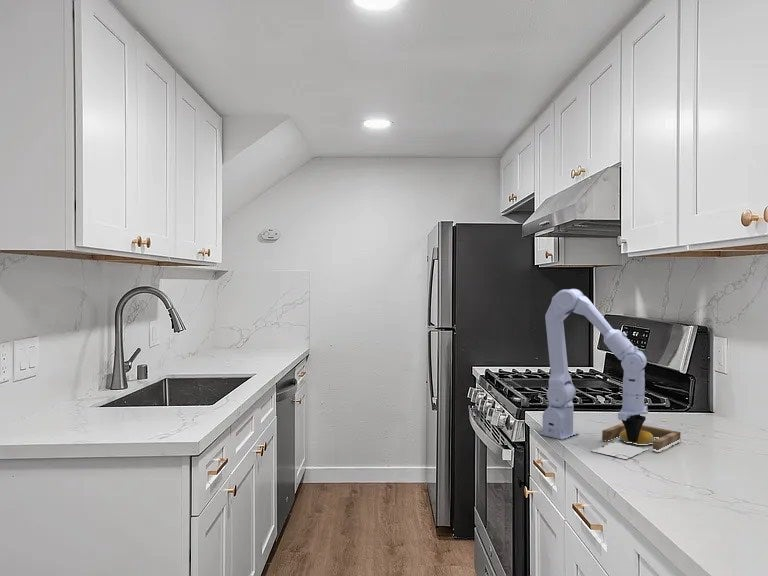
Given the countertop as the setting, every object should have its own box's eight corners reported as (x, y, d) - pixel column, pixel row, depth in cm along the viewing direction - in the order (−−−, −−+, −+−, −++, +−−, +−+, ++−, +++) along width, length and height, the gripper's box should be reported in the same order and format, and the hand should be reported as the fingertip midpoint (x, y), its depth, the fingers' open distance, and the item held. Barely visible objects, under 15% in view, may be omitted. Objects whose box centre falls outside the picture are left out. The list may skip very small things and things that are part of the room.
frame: (658, 453, 167) (658, 442, 167) (602, 440, 178) (602, 430, 178) (680, 442, 177) (680, 432, 177) (625, 431, 189) (625, 421, 189)
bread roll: (647, 448, 172) (647, 434, 172) (616, 441, 178) (616, 428, 178) (659, 442, 177) (659, 429, 177) (628, 436, 184) (628, 423, 184)
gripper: (636, 399, 166) (635, 449, 166) (658, 392, 176) (657, 439, 176) (611, 395, 171) (610, 443, 171) (634, 388, 181) (633, 434, 181)
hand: (632, 441), depth 174 cm, fingers closed
